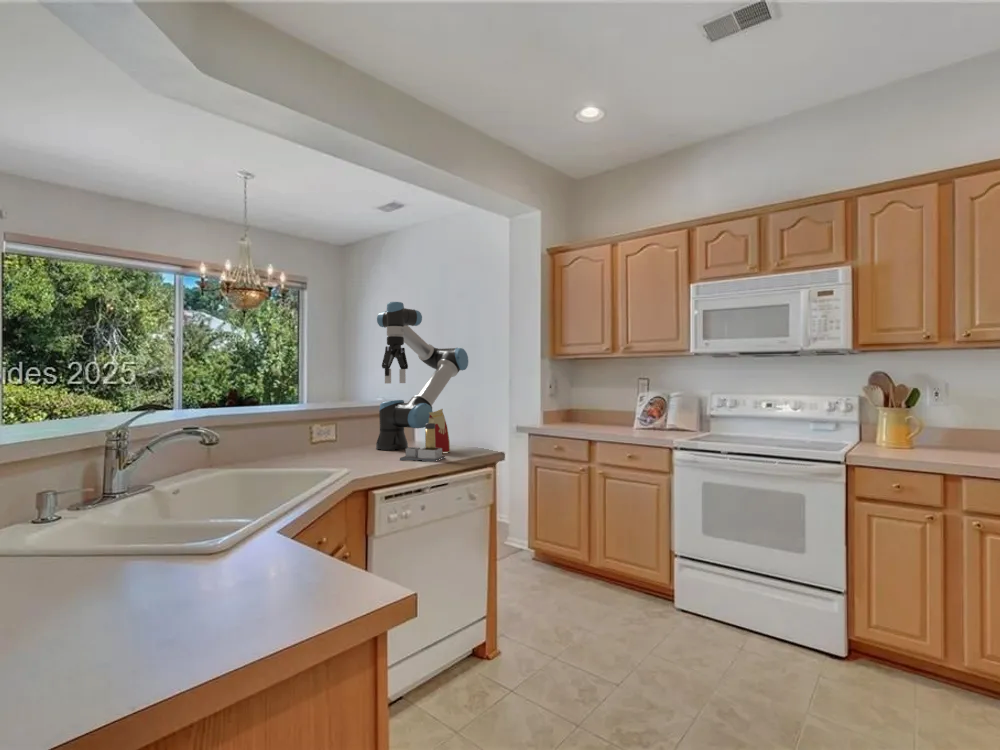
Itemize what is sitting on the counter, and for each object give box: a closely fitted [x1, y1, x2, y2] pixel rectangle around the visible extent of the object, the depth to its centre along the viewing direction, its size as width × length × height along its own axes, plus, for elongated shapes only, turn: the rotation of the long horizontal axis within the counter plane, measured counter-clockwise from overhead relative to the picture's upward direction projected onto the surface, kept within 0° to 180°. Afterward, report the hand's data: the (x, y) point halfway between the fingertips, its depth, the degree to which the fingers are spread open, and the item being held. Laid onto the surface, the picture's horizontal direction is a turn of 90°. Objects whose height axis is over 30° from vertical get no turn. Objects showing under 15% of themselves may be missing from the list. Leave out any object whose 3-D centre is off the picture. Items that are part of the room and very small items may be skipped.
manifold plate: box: [399, 446, 446, 462], centre depth 216 cm, size 10×16×4 cm, turn 73°
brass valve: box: [424, 423, 435, 450], centre depth 215 cm, size 4×4×14 cm
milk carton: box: [429, 408, 451, 454], centre depth 236 cm, size 9×9×20 cm
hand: (395, 383), depth 233 cm, fingers open, 13 cm apart
